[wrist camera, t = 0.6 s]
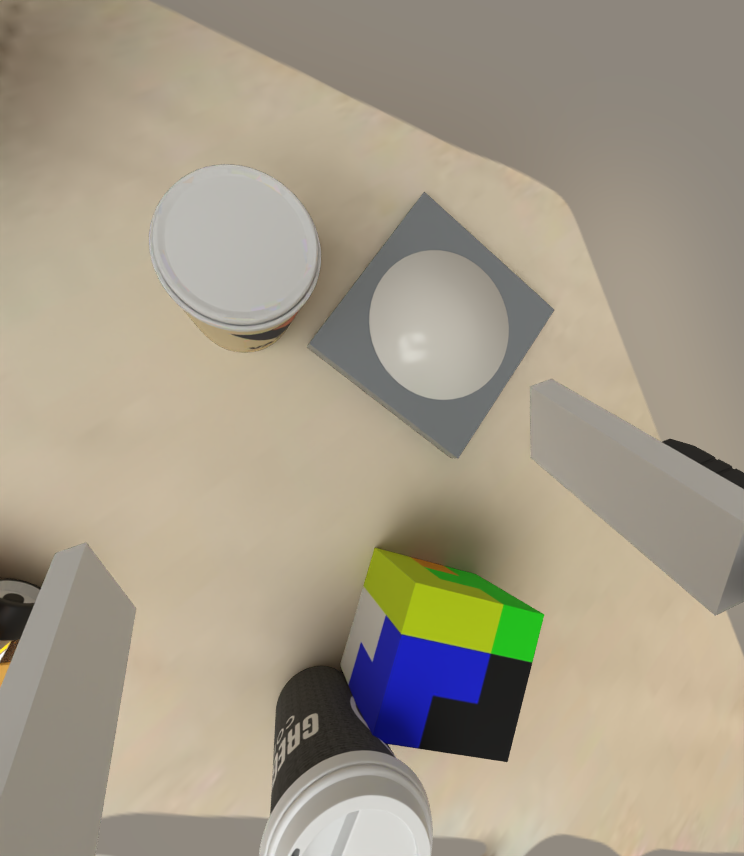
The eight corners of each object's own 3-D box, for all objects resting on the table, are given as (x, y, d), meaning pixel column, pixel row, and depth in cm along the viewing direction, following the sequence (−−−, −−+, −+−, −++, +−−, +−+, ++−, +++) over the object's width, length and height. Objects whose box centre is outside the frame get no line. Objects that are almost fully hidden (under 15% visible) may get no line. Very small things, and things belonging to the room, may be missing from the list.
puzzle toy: (340, 664, 38) (370, 741, 28) (374, 547, 39) (415, 582, 29) (445, 684, 40) (507, 762, 30) (475, 573, 41) (544, 614, 31)
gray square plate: (306, 347, 38) (309, 342, 36) (418, 200, 41) (425, 190, 39) (450, 457, 41) (459, 458, 39) (544, 314, 44) (555, 309, 42)
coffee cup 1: (257, 386, 36) (260, 361, 25) (154, 314, 35) (106, 250, 23) (322, 297, 38) (354, 235, 26) (227, 224, 36) (216, 122, 25)
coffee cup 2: (318, 622, 37) (361, 738, 23) (394, 696, 39) (480, 848, 24) (229, 717, 35) (215, 910, 21) (313, 790, 37) (354, 1018, 22)
